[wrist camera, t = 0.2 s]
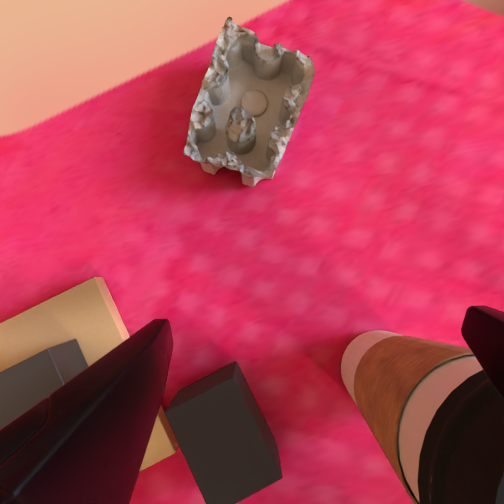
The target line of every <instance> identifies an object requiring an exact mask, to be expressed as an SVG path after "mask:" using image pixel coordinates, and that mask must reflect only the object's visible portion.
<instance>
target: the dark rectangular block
mask: <svg viewBox="0 0 504 504" xmlns="http://www.w3.org/2000/svg"><path fill="white" fill-rule="evenodd" d="M165 415H166V417H167V419H168V422H169V424H170V426H171V428H172V430H173V432H174V435H175V437H176V439H177V441H178V443H179V445H180V448H181V450H182V452H183V454H184V456H185V458H186V461H187V463H188V465H189V467H190V469H191V471H192V474H193V476H194V478H195V480H196V482H197V485H198V487H199V489H200V491H201V493H202V495H203V498H204V500H205V502H206V504H236V503H237V502H239V501H241V500H243V499H245V498H247V497H248V496H250V495H252V494H254V493H256V492H258V491H260V490H261V489H263V488H265V487H267V486H269V485H271V484H272V483H274V482H276V481H278V480H280V479H282V471H281V465H280V459H279V452H278V446H277V444H276V442H275V440H274V438H273V435H272V433H271V431H270V429H269V427H268V425H267V423H266V421H265V419H264V417H263V415H262V413H261V411H260V409H259V407H258V405H257V403H256V401H255V398H254V396H253V394H252V392H251V390H250V388H249V386H248V384H247V382H246V380H245V378H244V376H243V374H242V372H241V370H240V368H239V366H238V364H237V362H236V361H235V362H233V363H231V364H229V365H227V366H225V367H223V368H222V369H220V370H218V371H216V372H214V373H212V374H210V375H208V376H206V377H204V378H202V379H200V380H198V381H196V382H195V383H193V384H191V385H189V386H187V387H185V388H183V389H181V390H179V391H178V392H177V394H176V395H175V397H174V398H173V400H172V401H171V403H170V405H169V406H168V408H167V409H166V411H165Z"/></svg>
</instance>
